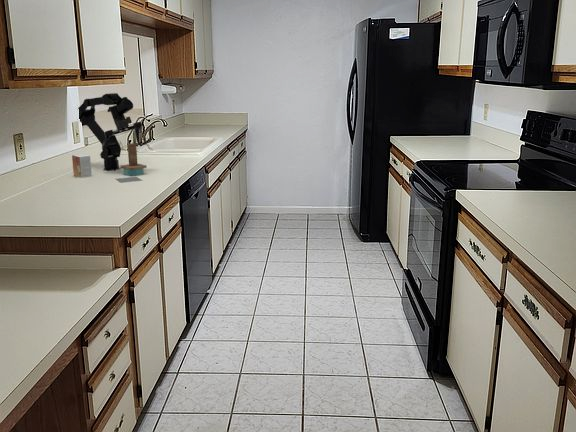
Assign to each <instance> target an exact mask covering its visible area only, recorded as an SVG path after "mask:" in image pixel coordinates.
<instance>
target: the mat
mask: <svg viewBox="0 0 576 432" xmlns="http://www.w3.org/2000/svg"><path fill="white" fill-rule="evenodd" d="M115 180H116V181H117V182H119V183H120V184H121V183H122V184H123V183H133V182H141V181H143V179H141V178H139V177H138V176H128V177H120V178H115Z"/></svg>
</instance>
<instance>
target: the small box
mask: <svg viewBox="0 0 576 432" xmlns="http://www.w3.org/2000/svg"><path fill="white" fill-rule="evenodd" d="M71 159H72V160H71V161H72V169H73V171H72V172H73V176H74V177H77V178H87V177H92V176H93V175H92V174H93V173H92V165H91V164H92V163H91V155H87V154H84V153H80V154H72V155H71Z"/></svg>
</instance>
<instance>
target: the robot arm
mask: <svg viewBox="0 0 576 432" xmlns="http://www.w3.org/2000/svg"><path fill="white" fill-rule="evenodd" d="M100 105H101V106H102V105H105V106H108V109H107V113H110V114H111V116H112V119H113V122H114V124H115V127H116V129H115V130H113V129H110V130H109V129H108V130H106V131H104V129H103V128H102V127H101V126H100V125H99V123H98V122H97V121H96V115H95V113H96V108H95V106H100ZM88 107H90V108H88ZM133 108H134V103H133V102H132V101H131V99H129V98H128V97H127V96H123V97H121V96H120V95H119V93H117V92H112V93H111V92H109V93H105V94H103V95H102V96H99V97H94V98H93V97H92V98H85V99H84V100H83V102H82V103H81V104H80V105H79V107H78V108H77V110H78V109H79V119H80V121H79V122H80V123H81V124H83V125H85V126H87V127H88V129H89V130H90V131H91V132H92V134H93V135H94V136H95V138H97V141H99V142H100V144H101V150H102V151H101V152H100V153H99V156H100V159H103V165H104V167H103V171H117V170H118V169H120V163H119V159H118V158H120V157H121V153H122V152H121V151H122V147H121V145H120V142H119V141H118V139H117V137H116V136H117V135H118V134H122V133H126V132H129V131H132V130H133V131H134V136H135V138H136V139H135V140H136V142H137V145H138V144H140V142H139V141H140V139H139V138H140V137H139V136H140V135H139V134H140V131H141V130H142V129H143V127H144V126H143V123H142V121H138V122H134V123H133V124H132V125H129V124H131V123H132V119H131V117H130V116H125V114H127V113H128V112H129V111H131V110H133Z"/></svg>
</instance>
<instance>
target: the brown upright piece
mask: <svg viewBox="0 0 576 432" xmlns="http://www.w3.org/2000/svg"><path fill="white" fill-rule="evenodd" d="M137 150H138V149H137V144H136V143H127V158H128V163H127V164H121V165H119V169H123V170H124V169H127V170H136V169H142V168H143V169H147V165H146V164H142V163H138V151H137Z"/></svg>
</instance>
